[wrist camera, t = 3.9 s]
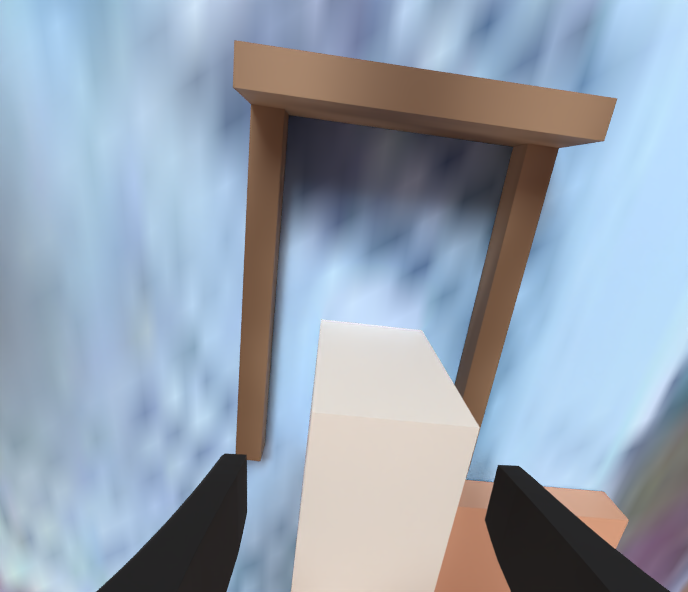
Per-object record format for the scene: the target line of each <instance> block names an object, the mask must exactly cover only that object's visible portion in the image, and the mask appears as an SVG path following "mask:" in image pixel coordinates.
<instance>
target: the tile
mask: <svg viewBox="0 0 688 592" xmlns="http://www.w3.org/2000/svg"><path fill="white" fill-rule="evenodd" d="M493 484H494V482H484V481H472V480H465V483H464V486H463V490H462V493H461V497H460V501H459V504H458V508H457V511H456V515H455V518H454V522H453V526H452V529H451V533H450V536H449V540H448V544H447V547H446V551H445V554H444V558H443V561H442V565H441V569H440V572H439V576H438V579H437V583H436V586H435V590H434V592H511V591H510V588H509V586H508V584H507V581H506V579H505V577H504V574H503V572H502V570H501V567H500V565H499V563H498V560H497V557H496V554H495V551H494V548H493V545H492V542H491V539H490V536H489V533H488V529H487V526H486V523H485V516H486V512H487V508H488V504H489V500H490V496H491V492H492V488H493ZM544 488H545V489H546V490H547V491H548V492H550V493H551V494H552V495H553V496H554V497H555V498H556V499H557V500H559V501H560V502H561V503H562V504H563V505H564V506H565V507H567V508H568V509H569V510H570V511H571V512H572V513H573V514H575V515H576V516H577V517H578V518H579V519H580V520H581V521H583V522H584V523H585V524H586V525H587V526H588V527H590V528H591V529H592V530H593V531H594V532H595V533H597V534H598V535H599V536H600V537H601V538H603V539H604V540H605V541H606V542H607V543H609V544H610V545H611V546H612V547H613V548H615V549H616V547H617V545H618V543H619V540H620V538H621V536H622V534H623V532H624V530H625V528H626V525H627V523H628V521H629V520H628V519H627V518H626V516H625V515H624V514H623V513H622V512H621V511H620V510H619V508H618V507H617V506H616V505H615V504H614V503H613V502H612V500H611V499H610V498H609V497H608V496H607V495H606V493H605V492H602V491H590V490H578V489H567V488H555V487H544Z"/></svg>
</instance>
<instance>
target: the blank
mask: <svg viewBox="0 0 688 592" xmlns="http://www.w3.org/2000/svg"><path fill="white" fill-rule="evenodd" d="M479 429H480V427H479V426H478V424H477V422H476V421H475V419H474V417H473V415H472V414H471V412H470V410H469V409H468V407H467V405H466V404H465V402H464V400H463V399H462V397H461V395H460V394H459V392H458V390H457V388H456V387H455V385H454V383H453V382H452V380H451V378H450V377H449V375H448V373H447V372H446V370H445V368H444V367H443V365H442V363H441V362H440V360H439V358H438V356H437V355H436V353H435V351H434V350H433V348H432V346H431V345H430V343H429V341H428V340H427V338H426V336H425V335H424V333H423V331H422V330H414V329H405V328H396V327H386V326H377V325H368V324H359V323H350V322H340V321H331V320H322V319H321V324H320V333H319V342H318V350H317V359H316V368H315V377H314V385H313V394H312V403H311V412H310V420H309V429H308V438H307V447H306V456H305V466H304V475H303V484H302V494H301V503H300V512H299V522H298V531H297V540H296V550H295V559H294V569H293V578H292V587H291V592H434V590H435V586H436V583H437V579H438V576H439V572H440V569H441V565H442V561H443V558H444V554H445V551H446V547H447V544H448V540H449V536H450V533H451V529H452V526H453V522H454V518H455V515H456V511H457V508H458V504H459V501H460V497H461V493H462V490H463V486H464V483H465V479H466V475H467V472H468V468H469V465H470V461H471V458H472V454H473V450H474V447H475V443H476V440H477V436H478V433H479Z"/></svg>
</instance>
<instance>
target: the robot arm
mask: <svg viewBox="0 0 688 592" xmlns="http://www.w3.org/2000/svg"><path fill="white" fill-rule="evenodd" d="M246 515H247V455H244V454H224V455H223V456H221V457H220V459H219V460H218V461H217V463H216V464H215V465H214V466H213V468H212V469H211V470H210V472H209V473H208V474H207V475H206V477H205V478H204V479H203V480H202V482H201V483H200V484H199V485H198V486H197V488H196V489H195V490H194V491H193V492H192V494H191V495H190V496H189V497H188V498H187V499H186V501H185V502H184V503H183V504H182V505H181V506H180V507H179V509H178V510H177V511H176V512H175V513H174V514H173V515H172V517H171V518H170V519H169V520H168V521H167V522H166V523H165V524H164V525H163V526H162V527H161V528H160V530H159V531H158V532H157V533H156V534H155V535H154V536H153V537H152V538H151V539H150V540H149V541H148V542H147V543H146V544H145V545H144V546H143V547H142V548H141V549H140V550H139V552H138V553H137V554H136V555H135V556H134V557H132V558H131V559H130V560H129V561H128V562H127V563H126V564H125V565H124V566H123V567H122V568H121V569H120V570H119V571H118V572H117V573H116V574H115V575H114V576H113V577H112V578H111V579H110V580H109V581H107V582H106V583H105V584H104V585H103V586H102V587H101V588H100V589H99V590H98V591H97V592H226V591H227V588H228V585H229V582H230V578H231V575H232V572H233V569H234V566H235V562H236V559H237V556H238V552H239V548H240V543H241V539H242V534H243V529H244V524H245V520H246ZM485 523H486V526H487V529H488V533H489V536H490V539H491V542H492V545H493V548H494V551H495V554H496V557H497V560H498V563H499V565H500V567H501V570H502V572H503V574H504V577H505V579H506V581H507V584H508V586H509V588H510V591H511V592H670V591H669V590H667V589H666V588H665V587H663V586H662V585H661V584H659V583H658V582H657V581H655V580H654V579H653V578H651V577H650V576H649V575H647V574H646V573H645V572H644V571H642V570H641V569H640V568H638V567H637V566H636V565H635V564H633V563H632V562H631V561H630V560H628V559H627V558H626V557H625V556H623V555H622V554H621V553H620V552H618V551H617V550H616V549H615V548H613V547H612V546H611V545H610V544H609V543H607V542H606V541H605V540H604V539H603V538H601V537H600V536H599V535H598V534H597V533H595V532H594V531H593V530H592V529H591V528H590V527H588V526H587V525H586V524H585V523H584V522H583V521H581V520H580V519H579V518H578V517H577V516H576V515H575V514H573V513H572V512H571V511H570V510H569V509H568V508H567V507H565V506H564V505H563V504H562V503H561V502H560V501H559V500H557V499H556V498H555V497H554V496H553V495H552V494H551V493H550V492H548V491H547V490H546V489H545V488H544V487H543V486H542V485H541V484H539V483H538V482H537V481H536V480H535V479H534V478H533V477H531V476H530V475H529V474H528V473H527V472H525V471H524V470H523V469H522V468H521V467H519V466H508V465H498V467H497V471H496V476H495V480H494V484H493V488H492V492H491V496H490V500H489V504H488V508H487V512H486V516H485Z"/></svg>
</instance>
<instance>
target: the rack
mask: <svg viewBox="0 0 688 592" xmlns="http://www.w3.org/2000/svg"><path fill="white" fill-rule="evenodd" d="M233 88H234V89H235V90H236V91H237V92H239V93H240V94H241V95H242V96H243V97H244V98H245V99H246V100H247V101H248V102H249V103H250V104H251V119H250V142H249V164H248V187H247V209H246V232H245V254H244V277H243V299H242V322H241V345H240V367H239V390H238V412H237V435H236V454H244V455H247V460H254V461H260V460H261V457H262V453H263V449H264V445H265V436H266V422H267V408H268V394H269V380H270V367H271V353H272V339H273V325H274V312H275V298H276V284H277V270H278V257H279V243H280V229H281V215H282V202H283V188H284V174H285V160H286V147H287V133H288V119H289V115H292V116H299V117H306V118H314V119H321V120H328V121H335V122H342V123H349V124H356V125H363V126H370V127H377V128H384V129H391V130H398V131H405V132H412V133H420V134H427V135H434V136H441V137H448V138H455V139H462V140H469V141H476V142H483V143H490V144H497V145H504V146H511V147H513V150H512V154H511V158H510V162H509V166H508V170H507V174H506V178H505V182H504V186H503V190H502V194H501V198H500V203H499V207H498V211H497V215H496V219H495V223H494V227H493V231H492V235H491V239H490V243H489V247H488V251H487V255H486V260H485V264H484V268H483V272H482V276H481V280H480V284H479V288H478V292H477V296H476V300H475V304H474V308H473V312H472V317H471V321H470V325H469V329H468V333H467V337H466V341H465V345H464V349H463V353H462V357H461V361H460V365H459V369H458V374H457V378H456V382H455V387H456V388H457V390H458V392H459V394H460V395H461V397H462V399H463V400H464V402H465V404H466V405H467V407H468V409H469V410H470V412H471V414H472V415H473V417H474V419H475V421H476V422H477V424H478V426H479V427H481V424H482V420H483V417H484V413H485V409H486V406H487V402H488V399H489V395H490V392H491V388H492V384H493V381H494V377H495V374H496V370H497V367H498V363H499V359H500V356H501V352H502V349H503V345H504V342H505V338H506V335H507V331H508V327H509V324H510V320H511V317H512V313H513V310H514V306H515V302H516V299H517V295H518V292H519V288H520V285H521V281H522V278H523V274H524V270H525V267H526V263H527V260H528V256H529V253H530V249H531V245H532V242H533V238H534V235H535V231H536V228H537V224H538V221H539V217H540V213H541V210H542V206H543V203H544V199H545V196H546V192H547V188H548V185H549V181H550V178H551V174H552V171H553V167H554V163H555V160H556V156H557V153H558V149H559V148H562V147H569V146H575V145H582V144H588V143H595V142H601V141H604V139H605V136H606V133H607V130H608V127H609V123H610V120H611V117H612V114H613V111H614V108H615V104H616V101H617V99H616V98H610V97H603V96H597V95H590V94H584V93H577V92H570V91H564V90H557V89H551V88H544V87H538V86H531V85H524V84H518V83H511V82H505V81H498V80H492V79H485V78H479V77H472V76H465V75H459V74H452V73H446V72H439V71H433V70H426V69H419V68H413V67H406V66H400V65H393V64H387V63H380V62H373V61H367V60H360V59H354V58H347V57H341V56H334V55H327V54H321V53H314V52H308V51H301V50H295V49H288V48H282V47H275V46H268V45H262V44H255V43H249V42H242V41H236V40H234V72H233ZM479 431H480V429H479ZM478 434H479V433H478ZM477 438H478V436H477ZM476 441H477V440H476ZM475 445H476V443H475ZM474 449H475V447H474ZM473 452H474V450H473ZM472 456H473V454H472ZM471 459H472V458H471ZM470 463H471V461H470ZM469 466H470V465H469ZM468 470H469V468H468ZM467 474H468V472H467ZM466 477H467V475H466Z"/></svg>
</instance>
